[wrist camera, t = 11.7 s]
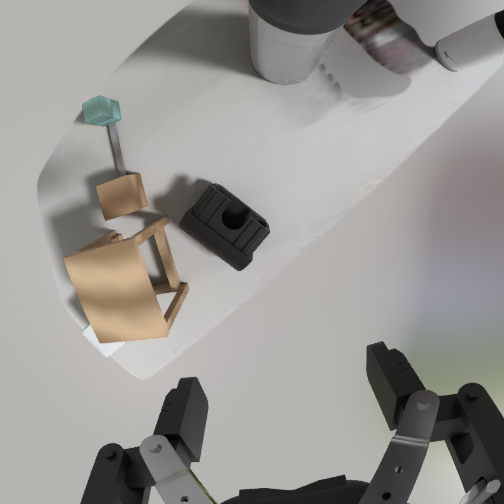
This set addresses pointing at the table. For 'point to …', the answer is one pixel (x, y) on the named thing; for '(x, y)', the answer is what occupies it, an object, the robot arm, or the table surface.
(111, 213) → the corded block
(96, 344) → the product box
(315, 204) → the table surface
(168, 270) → the shelf lane
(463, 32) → the travel mug
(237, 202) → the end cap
